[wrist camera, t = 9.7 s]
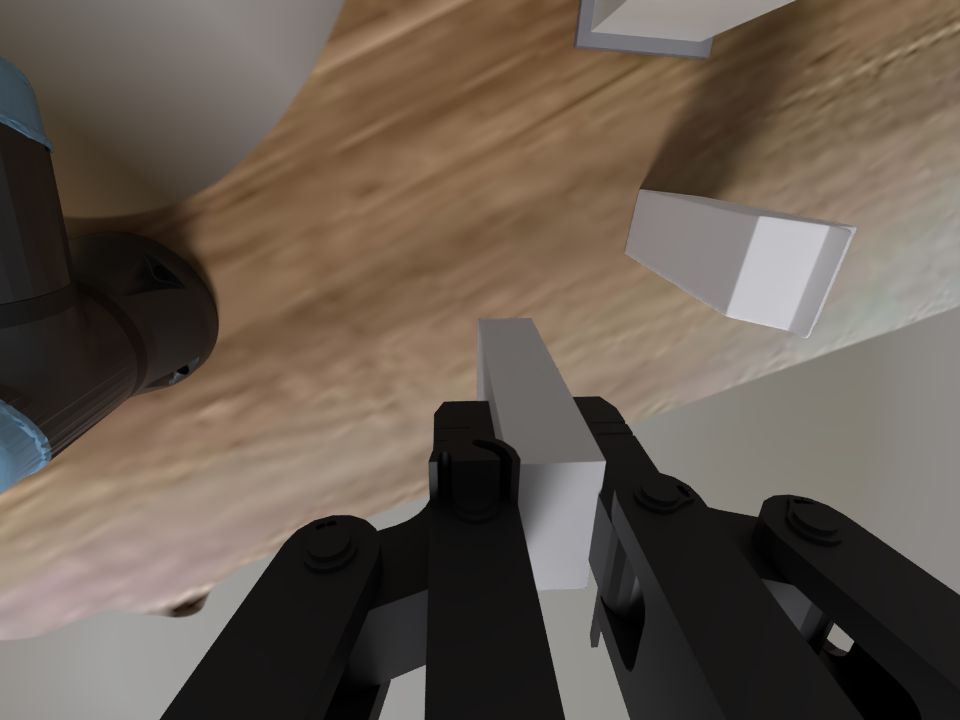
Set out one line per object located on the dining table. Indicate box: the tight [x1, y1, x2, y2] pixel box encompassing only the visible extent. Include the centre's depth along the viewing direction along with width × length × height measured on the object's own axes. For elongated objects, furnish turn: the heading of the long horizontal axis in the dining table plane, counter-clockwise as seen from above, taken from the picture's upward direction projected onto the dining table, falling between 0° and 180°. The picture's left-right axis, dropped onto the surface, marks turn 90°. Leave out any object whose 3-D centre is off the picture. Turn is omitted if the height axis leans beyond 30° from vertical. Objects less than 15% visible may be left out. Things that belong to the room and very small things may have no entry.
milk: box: [625, 189, 857, 338], centre depth 35 cm, size 6×6×22 cm
